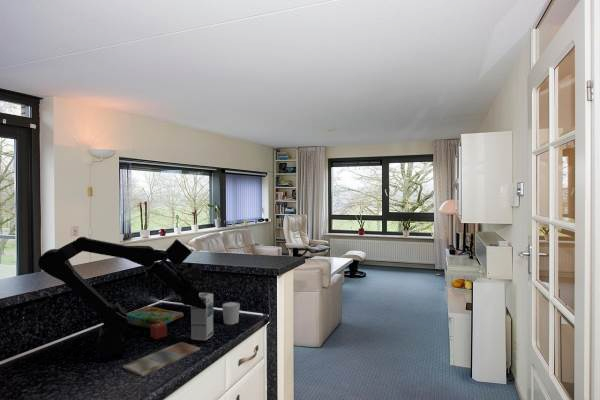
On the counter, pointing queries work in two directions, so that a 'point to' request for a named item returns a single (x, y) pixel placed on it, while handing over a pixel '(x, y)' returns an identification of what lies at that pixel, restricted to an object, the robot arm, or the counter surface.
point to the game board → (160, 358)
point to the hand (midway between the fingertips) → (203, 304)
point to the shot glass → (231, 312)
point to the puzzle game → (152, 316)
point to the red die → (158, 330)
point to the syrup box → (203, 319)
